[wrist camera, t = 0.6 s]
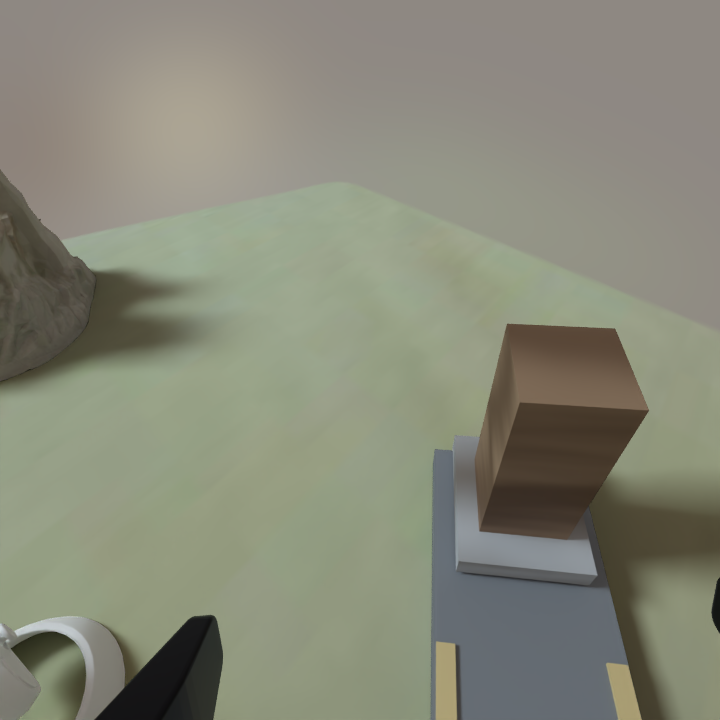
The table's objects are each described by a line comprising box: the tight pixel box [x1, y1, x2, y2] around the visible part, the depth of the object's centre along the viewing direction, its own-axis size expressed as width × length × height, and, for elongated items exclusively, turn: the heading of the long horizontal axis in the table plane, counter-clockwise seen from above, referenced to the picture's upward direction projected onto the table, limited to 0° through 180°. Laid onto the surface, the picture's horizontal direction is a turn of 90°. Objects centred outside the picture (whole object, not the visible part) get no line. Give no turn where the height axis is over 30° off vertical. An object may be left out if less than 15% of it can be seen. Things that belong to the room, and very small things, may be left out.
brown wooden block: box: [453, 324, 649, 585], centre depth 20 cm, size 7×6×11 cm
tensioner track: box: [431, 449, 642, 720], centre depth 20 cm, size 18×8×4 cm, turn 173°
